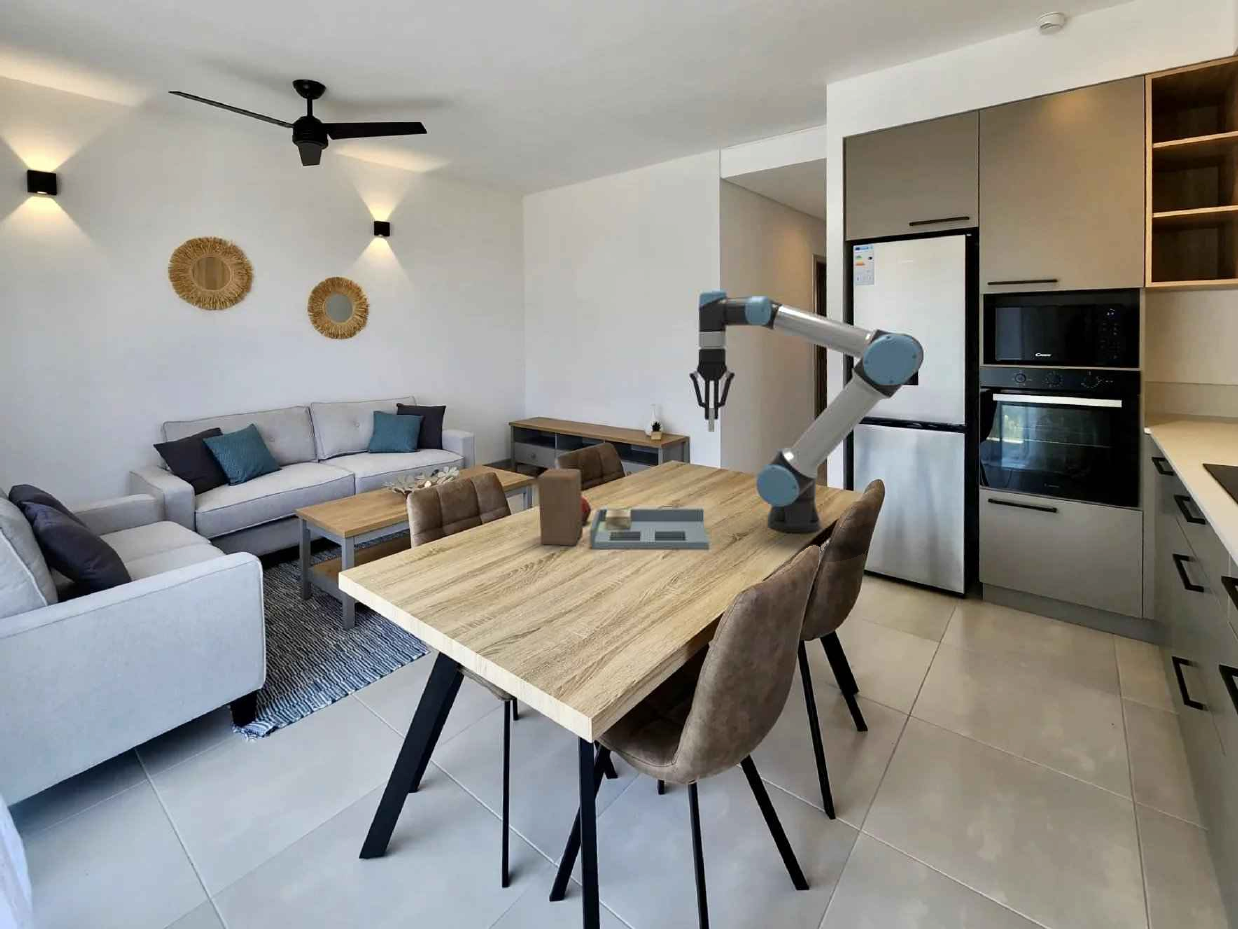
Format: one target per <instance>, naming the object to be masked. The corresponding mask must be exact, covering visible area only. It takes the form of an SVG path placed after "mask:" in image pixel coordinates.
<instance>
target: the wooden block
mask: <svg viewBox="0 0 1238 929" xmlns="http://www.w3.org/2000/svg"><path fill="white" fill-rule="evenodd" d="M581 474H582V473H581V470H580V469H578V468H577V469H576V468H548V469H546V470H545V471H543V472H542V473H541V474H540V475H538V477H537V486H538V504H539V506H538V507H539V522H540V523H539V525H540V540H541V542H540V543H541V544H543V545H556V546H560V545H561V546H575V545H576V543H577V542H578V541H579V539H580V538H581V537H582V536H583V533H584V531H583V527H584V526H583V523H582V498H583V497H582V477H581V476H582V475H581ZM581 497H582V498H581Z"/></svg>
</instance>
